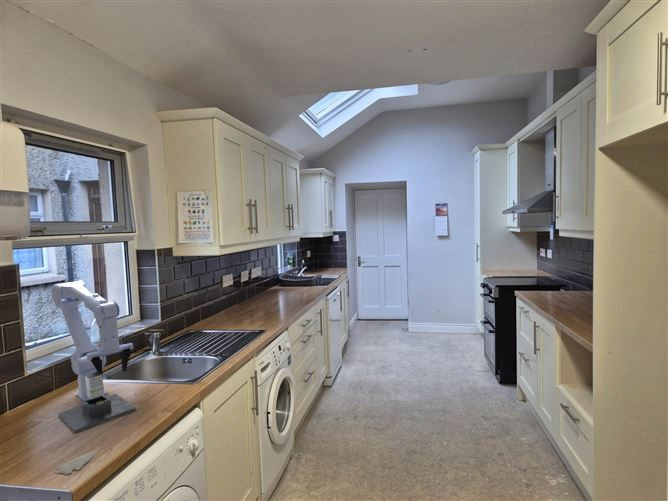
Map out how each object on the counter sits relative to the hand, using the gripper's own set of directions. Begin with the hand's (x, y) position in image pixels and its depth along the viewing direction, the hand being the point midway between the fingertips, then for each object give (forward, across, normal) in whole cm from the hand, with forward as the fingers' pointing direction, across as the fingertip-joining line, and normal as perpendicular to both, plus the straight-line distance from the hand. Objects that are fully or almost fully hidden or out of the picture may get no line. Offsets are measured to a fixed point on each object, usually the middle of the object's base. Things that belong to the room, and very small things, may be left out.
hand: (112, 374), depth 140 cm
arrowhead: (+11, -20, -32) cm, 39 cm away
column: (+4, -7, -4) cm, 9 cm away
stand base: (+10, -7, -4) cm, 13 cm away
